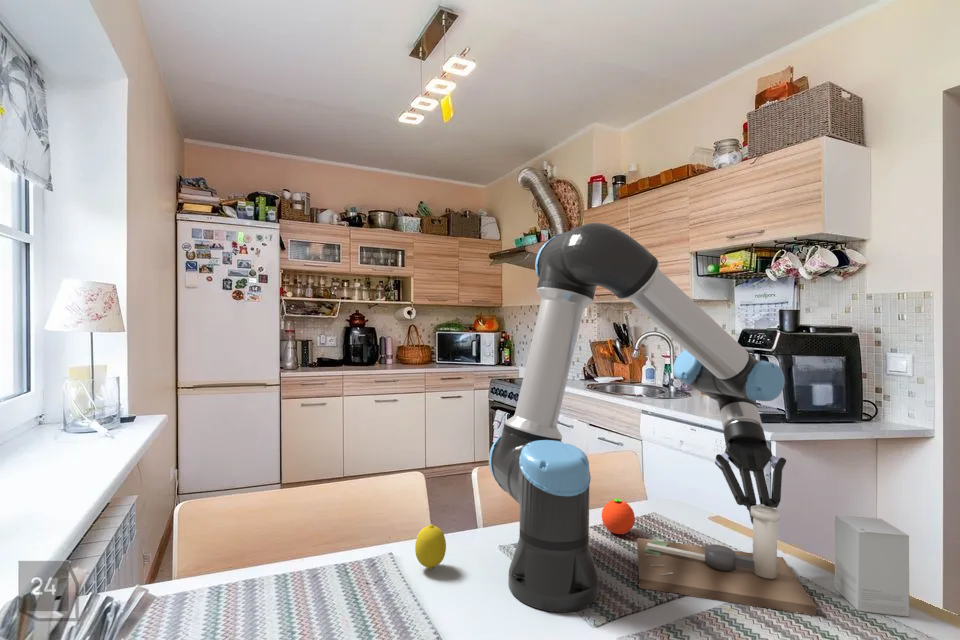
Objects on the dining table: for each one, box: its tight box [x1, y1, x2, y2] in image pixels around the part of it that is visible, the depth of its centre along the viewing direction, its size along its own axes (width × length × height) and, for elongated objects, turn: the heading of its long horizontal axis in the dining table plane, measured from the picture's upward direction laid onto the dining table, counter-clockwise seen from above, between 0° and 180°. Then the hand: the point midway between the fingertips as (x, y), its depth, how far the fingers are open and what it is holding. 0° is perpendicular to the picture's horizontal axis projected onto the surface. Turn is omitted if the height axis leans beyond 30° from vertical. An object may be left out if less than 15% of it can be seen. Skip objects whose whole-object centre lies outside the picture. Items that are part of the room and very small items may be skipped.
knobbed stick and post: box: [647, 505, 781, 579], centre depth 89 cm, size 22×5×11 cm, turn 63°
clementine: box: [601, 498, 636, 535], centre depth 106 cm, size 8×7×7 cm
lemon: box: [414, 523, 447, 570], centre depth 88 cm, size 6×6×8 cm
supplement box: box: [834, 515, 910, 617], centre depth 80 cm, size 7×7×13 cm
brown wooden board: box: [636, 537, 817, 616], centre depth 87 cm, size 26×17×2 cm, turn 73°
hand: (766, 542), depth 87 cm, fingers closed
